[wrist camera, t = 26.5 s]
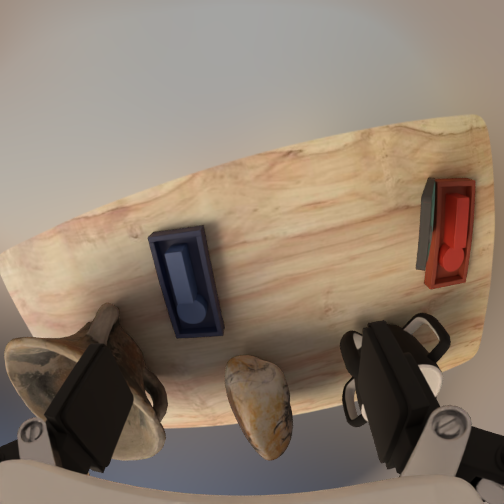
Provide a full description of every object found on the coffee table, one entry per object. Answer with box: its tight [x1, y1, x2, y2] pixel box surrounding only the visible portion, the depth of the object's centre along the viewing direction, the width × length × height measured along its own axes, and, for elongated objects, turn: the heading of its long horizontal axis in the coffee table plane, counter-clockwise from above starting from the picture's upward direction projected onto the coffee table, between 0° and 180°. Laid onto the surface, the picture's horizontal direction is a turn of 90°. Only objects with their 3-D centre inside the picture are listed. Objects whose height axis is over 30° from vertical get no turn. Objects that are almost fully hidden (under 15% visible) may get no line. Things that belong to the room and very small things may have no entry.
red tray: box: [424, 178, 475, 289], centre depth 36 cm, size 15×7×2 cm, turn 8°
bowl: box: [4, 303, 168, 460], centre depth 40 cm, size 27×26×15 cm
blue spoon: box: [165, 243, 208, 324], centre depth 39 cm, size 11×4×3 cm, turn 8°
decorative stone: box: [225, 355, 293, 460], centre depth 40 cm, size 18×9×15 cm, turn 18°
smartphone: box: [416, 178, 435, 270], centre depth 30 cm, size 7×1×15 cm
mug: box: [340, 313, 451, 427], centre depth 39 cm, size 16×16×12 cm
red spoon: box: [437, 193, 469, 272], centre depth 35 cm, size 11×4×3 cm, turn 8°
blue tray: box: [148, 225, 225, 338], centre depth 40 cm, size 15×7×2 cm, turn 8°
